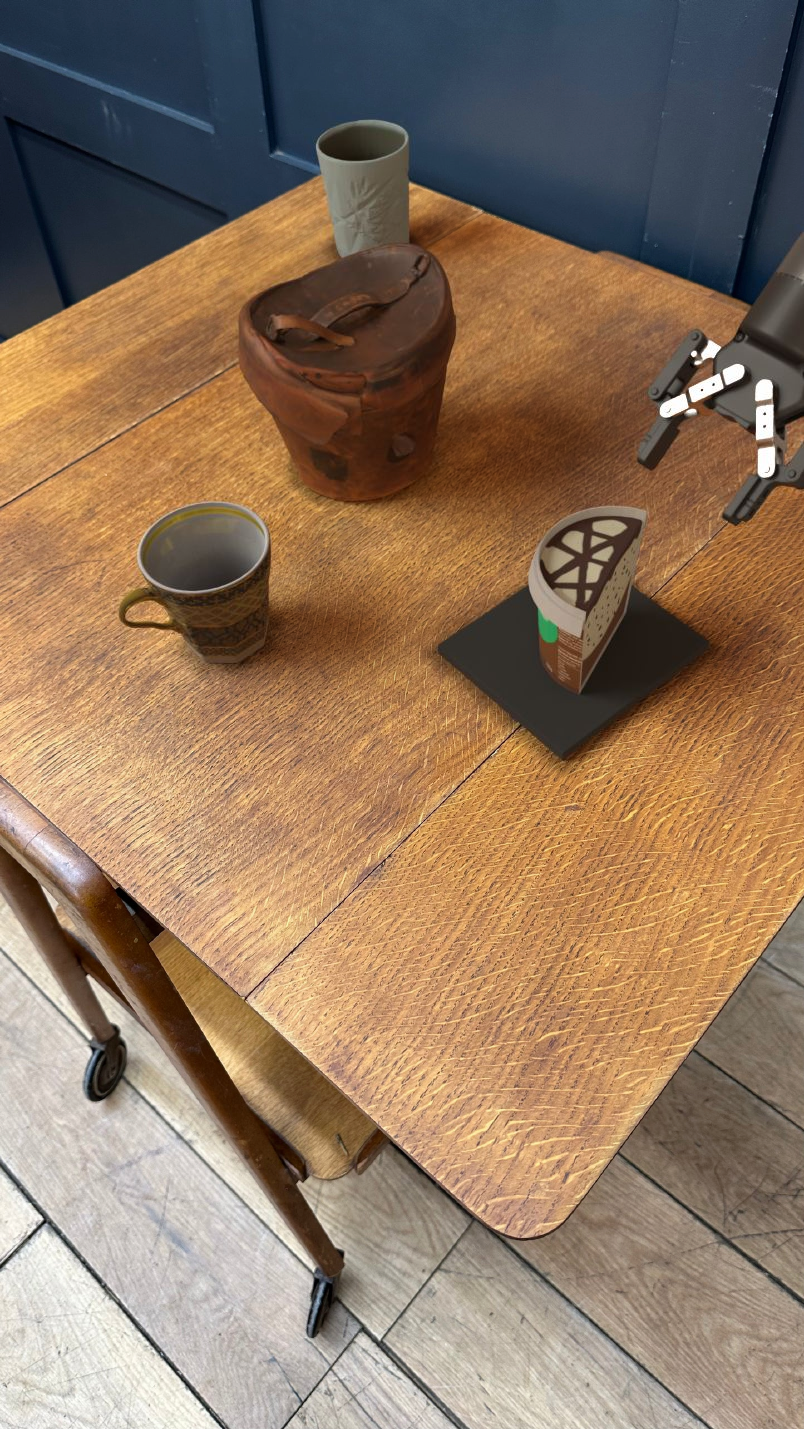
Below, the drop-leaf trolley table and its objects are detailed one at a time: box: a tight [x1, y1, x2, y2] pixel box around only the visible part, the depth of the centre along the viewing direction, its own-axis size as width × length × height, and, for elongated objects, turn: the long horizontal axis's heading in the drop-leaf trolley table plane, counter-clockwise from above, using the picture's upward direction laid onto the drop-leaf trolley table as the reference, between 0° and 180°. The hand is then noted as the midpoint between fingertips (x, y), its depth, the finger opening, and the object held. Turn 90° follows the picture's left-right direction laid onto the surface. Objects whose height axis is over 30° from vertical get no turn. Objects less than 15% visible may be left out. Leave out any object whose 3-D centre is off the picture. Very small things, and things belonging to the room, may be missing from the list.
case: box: [237, 242, 457, 502], centre depth 90 cm, size 18×20×18 cm
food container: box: [527, 505, 648, 695], centre depth 77 cm, size 12×6×10 cm, turn 151°
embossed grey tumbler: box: [315, 119, 410, 258], centre depth 116 cm, size 10×10×12 cm
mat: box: [437, 583, 711, 761], centre depth 81 cm, size 16×14×1 cm
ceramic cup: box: [118, 500, 272, 664], centre depth 80 cm, size 13×10×10 cm
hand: (685, 493), depth 79 cm, fingers open, 8 cm apart
